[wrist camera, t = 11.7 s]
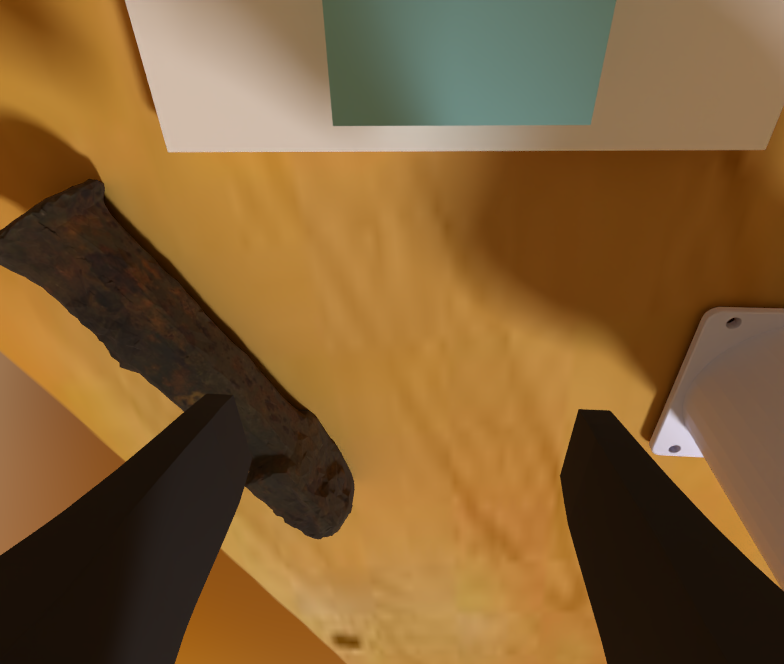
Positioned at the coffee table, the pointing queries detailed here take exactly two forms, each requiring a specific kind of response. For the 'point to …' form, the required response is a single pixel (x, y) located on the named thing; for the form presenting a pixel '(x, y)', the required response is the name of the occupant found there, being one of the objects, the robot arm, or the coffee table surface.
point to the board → (317, 134)
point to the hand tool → (177, 348)
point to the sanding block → (465, 61)
